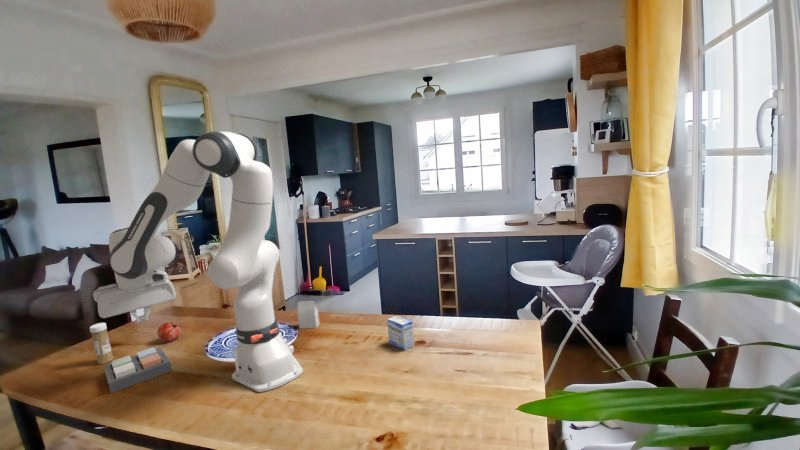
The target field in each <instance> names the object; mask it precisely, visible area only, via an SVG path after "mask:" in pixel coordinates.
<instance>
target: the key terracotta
mask: <svg viewBox="0 0 800 450" xmlns="http://www.w3.org/2000/svg"><path fill="white" fill-rule="evenodd" d="M140 361H141V366H142V368H143V369H146V368H149V367H152V366H154V365H157V364H160V363H162V360H161V357H160V356H159V354H155V355H152V356H149V357H146V358H143V359H140Z"/></svg>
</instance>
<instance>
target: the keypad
mask: <svg viewBox="0 0 800 450" xmlns="http://www.w3.org/2000/svg"><path fill="white" fill-rule="evenodd" d="M155 350H156V351H157V354H159V356H160V357H161V360H162V363H160V364H157V365H154V366H152V367H149V368H146V369H143V368H142V366H141V362H139V360H138V357H137V354H134V355H132V356H130V357H131V359H132V362H133V364H134V366H135V369H136V372H135V373H132V374H129V375H126V376H123V377H120V378H118V379H116V377H115V373H114V371H113V368H112V363H106V364H105V365H104V364H103V368H104V373H105V377H106V381H107V385H108V388H109V391H110V394H112V393H115V392H118V391H121V390H123V389H126V388H129V387H131V386H134V385H137V384H140V383H143V382H144V381H148V380H151V379H154V378H156V377H159V376H161V375H164V374H167V373H169V372H172V371H173V369H172V363H171V361H170V359H169V358H168V356H167V355H166V353H165V352H164V350H163V349H162V347H156V348H155ZM158 375H159V376H158Z"/></svg>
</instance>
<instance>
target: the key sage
mask: <svg viewBox="0 0 800 450" xmlns="http://www.w3.org/2000/svg"><path fill="white" fill-rule="evenodd" d="M131 357H132V356H131V355H130V354H129V355H127V356H123V357H120V358H117V359H113V360H111V361H110V362H111V363H112V368H116V367H119V366H122V365H125V364H128V363H131V362H132V359H131ZM113 371H114V369H113Z"/></svg>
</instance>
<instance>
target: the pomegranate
mask: <svg viewBox="0 0 800 450" xmlns="http://www.w3.org/2000/svg"><path fill="white" fill-rule="evenodd" d="M180 335H181V328H180V326H179V325H178V324H177V323H176V322H173V321H172V322H164V323H162V324H161V325H160V326H159V327H158V330H157V337H158V338H159V339H161V340H162V341H163V342H164V343H168V342H170V343H171V342H173V341H174V340H176V339H178V338H179V337H180Z"/></svg>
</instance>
